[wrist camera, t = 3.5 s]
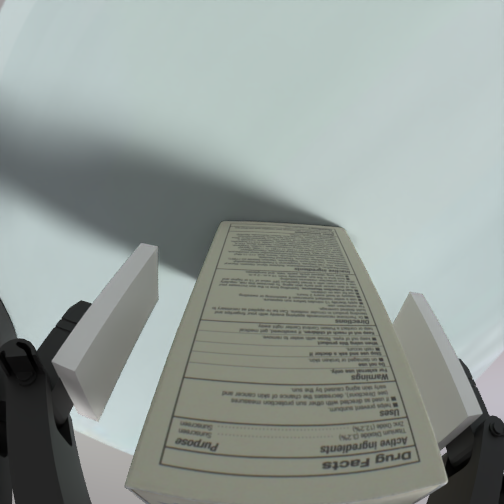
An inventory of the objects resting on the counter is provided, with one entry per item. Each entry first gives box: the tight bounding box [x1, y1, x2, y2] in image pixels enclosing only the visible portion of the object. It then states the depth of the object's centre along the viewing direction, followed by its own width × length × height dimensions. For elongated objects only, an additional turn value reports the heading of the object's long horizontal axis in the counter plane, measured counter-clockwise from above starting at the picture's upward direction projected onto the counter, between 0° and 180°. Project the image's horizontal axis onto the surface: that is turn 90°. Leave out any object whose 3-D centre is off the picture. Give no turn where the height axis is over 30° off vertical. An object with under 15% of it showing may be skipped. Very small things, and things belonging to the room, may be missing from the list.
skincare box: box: [125, 221, 448, 504], centre depth 10 cm, size 6×4×12 cm
